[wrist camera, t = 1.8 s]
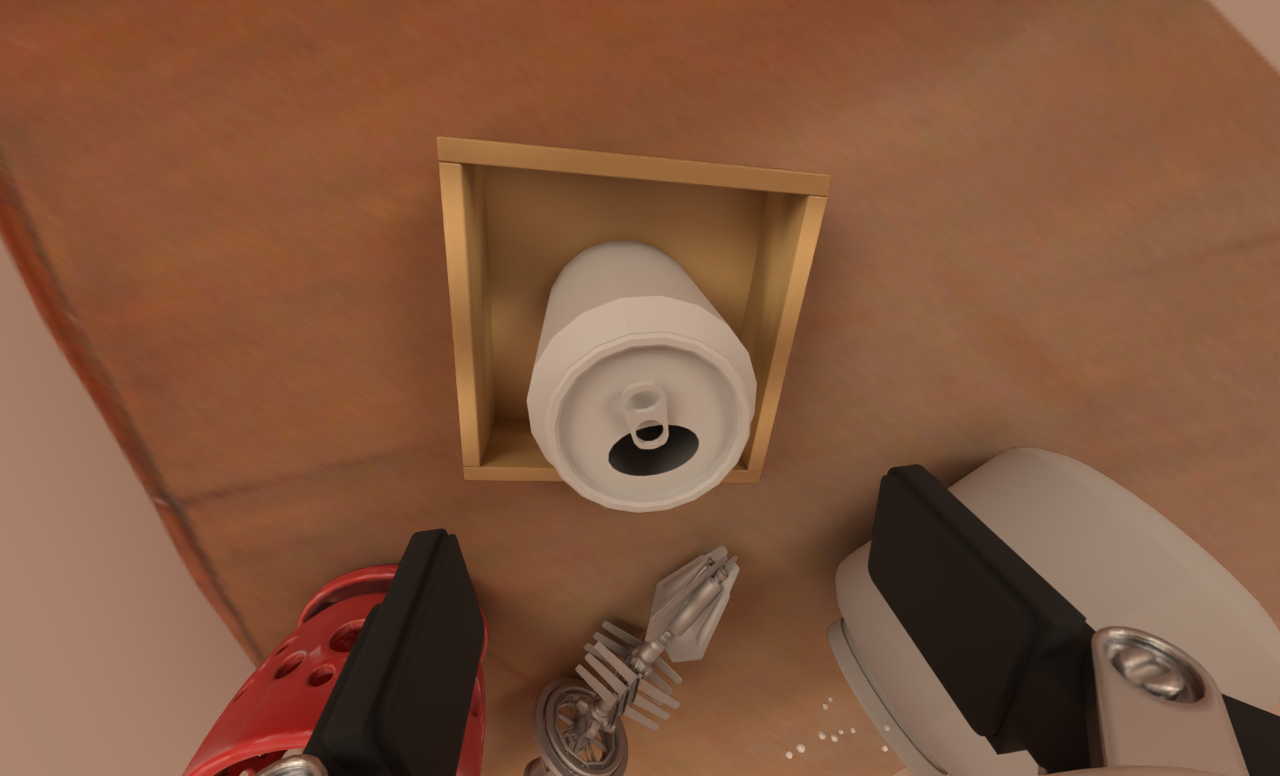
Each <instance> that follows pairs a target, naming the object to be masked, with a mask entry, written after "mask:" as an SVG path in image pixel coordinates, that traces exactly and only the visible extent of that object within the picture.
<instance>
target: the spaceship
mask: <svg viewBox="0 0 1280 776" xmlns="http://www.w3.org/2000/svg"><path fill="white" fill-rule="evenodd" d="M727 553H728V550H727V549H726V548H725V546H724V545H721V546H719V547H718V548H716V549H714V550H713V551H711V552H709V553H708V554H706V555H705V556H704V555H700V556H699V557H697V558H696V559H694V560H693V561H691V562H689V563H688V564H686V565H685V566H683V567H682V568H680V569H678V570H677V571H675V572H674V573H672V574H671V575H669V576H667V577H666V578H664V579H663V580H661V581H659V582H658V583H657V586H656V591H655V595H654V599H653V603H652V608H651V612H650V619H649V623H648V627H647V630H646V631H645V632H644V633H643V636H642V640H639V639H638V638H636V637H634V636H632V635H630V634H628V633H627V632H625V631H623V630H621V629H619V628H618V627H616V626H614V625H612V624H610V623H609V622H607V621H605V622H604V623H603V625H602V626H601V627H602V628H604V629H606V630H607V631H609V632H610V633H612V634H613V635H615V636H616V637H618V638H620V639H621V640H623V641H624V642H626V643H627V644H629V645H630V646H632V647H633V651H631V650H629V649H627V648H625V647H623V646H621V645H620V644H618V643H616V642H614V641H612V640H610V639H609V638H607V637H605V636H603V635H601V634H600V633H598V632H596V633H595V634H594V636H593V638H594V639H595V640H597V641H598V642H597V643H596V644H595V645H594V646H593V645H591V644H589V643H587V644H586V645H585V647H584V649H585V650H587V651H588V652H590V653H591V654H593V655H594V656H596V657H598V658H599V659H601V660H602V661H604V662H606V663H607V664H609V665H610V666H612V667H614V668H615V669H616V671H615V673H614V675H613V674H612V673H611V672H610V671H609V670H608V669H607V668H606V667H605V666H604V665H602V664H601V663H600V662H599V661H598V660H597V659H596V658H595V657H594V656H593V655H591V654H590V653H588V654H587V655H586V656H585V660H586V661H587V662H588V663H589V664H590V665H591V666H592V667H593V668H594V669H595V670H596V671H597V672H598V673H599V674H600V675H601V676H602V677H603V678H604V679H605V680H606V681H607V682H608V686H607V689H606V688H605V687H604V686H603V685H602V684H601V683H600V682H599V681H598V680H597V679H596V678H595V677H593V676H592V675H591V674H590V673H589V672H588V671H587V670H586V669H585V668H584V667H583V666H581V665H580V664H579V665H578V666H577V668H576V669H575V670H576V671H577V672H578V673H579V674H580V676H581V677H582V678H583V679H584V680H585V681H586V682H585V681H583V680H580V679H577V678H571V677H564V678H559V679H556V680H553V681H551V682H550V683H548V684H547V685H546V686H545V687H544V688H543V689H542V690H541V691H540V693H539V695H538V697H537V699H536V702H535V706H534V711H533V731H534V737H535V741H536V744H537V747H538V750H539V752H540V754H541V757H539V758H537V759H534V760H533V761H531V762H529V763H528V765H527V766H526V768H525V771H524V775H523V776H624V773H625V771H626V766H627V761H628V742H627V736H626V732H625V729H624V726H623V724H622V721H621V719H620V717H621V716H622V715H625V716H627V717H629V718H631V719H633V720H634V721H636V722H638V723H640V724H642V725H644V726H646V727H648V728H650V729H652V730H653V731H657V730H658V729H659V728H660V725H658V724H657V723H655V722H654V721H652V720H650V719H649V718H647V717H645V716H644V715H642V714H641V713H639V712H637V711H636V710H634V709H633V708H631V707H629V706H628V705H627V704H628V703H629V702H631V703H630V706H631V705H632V704H635V705H637V706H639V707H641V708H643V709H645V710H647V711H648V712H650V713H652V714H654V715H656V716H658V717H660V718H662V719H663V720H667V719H668V718H669V717H670V714H669V713H667V712H665V711H664V710H662V709H661V708H659V707H657V706H656V705H654V704H653V703H651V702H649V701H648V700H646V699H645V698H643V697H641V696H640V695H638V694H637V690H640V691H642V692H644V693H645V694H646V695H647V696H648V697H649V698H650V699H651V700H653V701H654V702H655V703H656V704H657V705H658V706H660V705H661V704H662V703H665V704H666V705H668V706H670V707H672V708H674V709H677V708H678V707H679V705H680V703H679V702H678V701H676V700H674V699H673V698H671V697H670V696H669V695H670V694H671V693H672V692H673V690H672V689H671V688H670V687H669V686H668V685H667V684H666V683H665V682H664V681H663V680H662V679H661V678H660V677H659V676H658V675H657V674H656V672H655V671H654V670H653V664H654V665H656V666H657V667H658V668H659V669H660V670H661V671H662V672H664V673H665V674H666V675H667V676H668V677H669V678H670V679H671V680H673V681H674V682H675V683H676V684H677V685H679V684H680V683H681V682H682V681H683V680H682V678H681V677H680V676H679V675H678V674H677V673H676V672H675V671H674V670H673V669H672V668H671V667H670V666H669V665H668V664H667V663H666V662H665V661H664V660H663V659H662V658H661V657H660V656H659V654H660V653H661V652H663V651H664V649H665V651H666V653H667V654H668V656H669V658H670V659H671V661H672V662H674V663H675V662H683V661H691V660H699V659H702V658H703V656H704V654H705V651H706V649H707V647H708V645H709V643H710V640H711V638H712V636H713V634H714V632H715V629H716V627H717V625H718V623H719V621H720V618H721V616H722V614H723V612H724V610H725V607H726V605H727V603H728V601H729V599H730V591H731V589H732V587H733V584H734V582H735V580H736V577H737V575H738V573H739V571H740V570H739V567H738V566H737V564H736V563H735V562H736V561H737V559H738V556H733V557H732V558H730V559H729V560H728V561H727V559H728V557H726V555H727ZM604 645H605V646H606V647H608V648H609V649H611V650H612V651H614V652H616V653H617V654H619V655H620V656H622V657H623V658H625V659H624V662H622V661H621V660H619V659H618V658H617V657H616V656H615V655H614V654H613V653H612V652H611V651H609V650H608V649H607V648H606V647H605V646H604ZM646 677H648V678H649V679H650V680H651V681H652V682H653V683H655V684H656V685H657V686H658V687H659V688H660V689H661V690H662V691H664V692H665V693H666V694H667V695H666V694H665V693H663V692H662V691H660V690H659V689H657V688H655V687H654V686H652V685H651V684H649V683H647V682H646V681H644V679H645V678H646ZM627 701H628V703H627ZM564 706H568V707H569V706H570V707H569V710H570V713H571V707H572V708H573V710H574V711H575V709H576V711H575V716H574V715H573V714H572V713H571V715H573V716H574V718H573V716H572V718H573V719H572V718H571V717H569V716H568V715H566V714H564V713H562V712H560V711H559V709H560V708H561V707H564ZM574 707H575V709H574ZM577 709H578V710H579V711H580V713H581V714H582V715H581V716H579V713H578V711H577ZM544 712H545V713H544ZM576 712H577V714H576ZM617 712H618V713H617ZM619 714H620V717H619ZM577 715H578V717H577ZM558 717H559V718H560V719H562V720H563V721H564V722H566V723H567V724H568V725H569V726H570V728H567V729H562V730H559V728H558ZM544 718H545V727H544ZM574 719H575V720H574ZM565 730H566V731H565ZM560 731H562V732H563V731H565V732H563V733H562V732H560ZM598 731H599V733H600V736H601V739H602V742H601V741H600V740H599V739H598V738H597V737H596V734H597V733H598ZM558 733H559V734H558ZM589 742H591V743H593V744H594V745H595V746H597V747H598V748H599V749H601V750H602V751H603V752H602V757H601V760H600V761H596V759H595V756H594V754H593V751H592V748H591V746H590V743H589ZM586 744H587V745H586ZM586 746H587V747H588V749H589V752H590V750H591V752H592V755H593V757H594V759H593V757H592V755H591V752H590V755H591V757H592V760H593V761H590V760H589V758H588V757H587V754H586ZM589 746H590V748H589ZM584 747H585V749H584ZM583 749H584V751H585V754H586V757H587V760H588V762H585V761H584V760H583V759H581V758H580V757H579V756H580V754H581V752H582V750H583ZM579 760H580V761H581V762H580V761H579ZM594 760H595V761H594ZM593 764H594V765H593Z"/></svg>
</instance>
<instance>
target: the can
mask: <svg viewBox="0 0 1280 776" xmlns="http://www.w3.org/2000/svg"><path fill="white" fill-rule="evenodd" d="M756 388H757V382H756V379H755V375H754V371H753V368H752V364H751V360H750V357H749V353H748V351H747V350H746V349H745V347H744V346H743V345H742V343H741V342H740V340H739V339H738V338H737V336H736V335H735V334H734V332H733V331H732V329H731V328H730V327H729V325H728V324H727V323H726V322H725V320H724V319H723V318H722V317H721V315H720V314H719V313H718V312H717V310H716V309H715V308H714V307H713V306H712V304H711V303H710V302H709V301H708V299H707V298H706V297H705V296H704V294H703V293H702V292H701V291H700V289H699V288H698V287H697V286H696V284H695V283H694V282H693V281H692V280H691V278H690V277H689V276H688V275H687V273H686V272H685V271H684V270H683V268H682V267H681V266H680V265H679V263H678V262H677V261H676V260H675V259H673V258H672V257H670V256H669V255H667V254H666V253H665V252H663V251H662V250H660V249H659V248H657V247H656V246H652V245H648V244H645V243H641V242H638V241H634V240H619V241H606V242H603V243H601V244H598V245H596V246H593V247H590V248H588V249H585V250H583V251H582V252H581V253H579V254H578V255H577V256H576V257H575V258H573V259H572V260H571V261H570V262H569V263H567V264H566V265H565V266H564V267H563V269H562V271H561V272H560V274H559V276H558V277H557V279H556V281H555V282H554V284H553V285H552V287H551V292H550V296H549V301H548V305H547V310H546V314H545V319H544V323H543V328H542V332H541V337H540V342H539V346H538V351H537V355H536V360H535V364H534V369H533V374H532V378H531V383H530V387H529V392H528V397H527V406H528V413H529V420H530V426H531V433H532V434H533V436H534V438H535V440H536V442H537V443H538V445H539V447H540V449H541V451H542V452H543V454H544V456H545V458H546V460H547V461H548V462H549V463H550V464H552V465H553V466H554V467H555V468H556V470H557V472H558V473H559V475H560V477H561V478H562V479H563V480H564V481H565V482H566V483H567V484H568V485H570V486H571V487H572V488H573V489H574V490H575V491H576V492H577V493H578V494H580V495H581V496H582V497H584V498H586V499H588V500H591V501H593V502H595V503H597V504H599V505H602V506H604V507H606V508H609V509H615V510H621V511H628V512H634V513H642V512H652V511H663V510H668V509H671V508H674V507H677V506H680V505H683V504H686V503H688V502H691V501H694V500H696V499H697V498H699V497H700V496H702V495H703V494H705V493H706V492H708V491H709V490H711V489H712V488H714V487H715V486H717V485H718V484H720V482H721V481H722V480H723V479H724V478H725V477H726V476H727V474H728V473H729V472H730V471H731V470H732V469H733V467H734V466H735V465H736V464H737V463H738V461H739V459H740V457H741V454H742V452H743V450H744V448H745V445H746V443H747V441H748V439H749V436H750V424H751V421H752V419H753V416H754V411H755V399H756Z"/></svg>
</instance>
